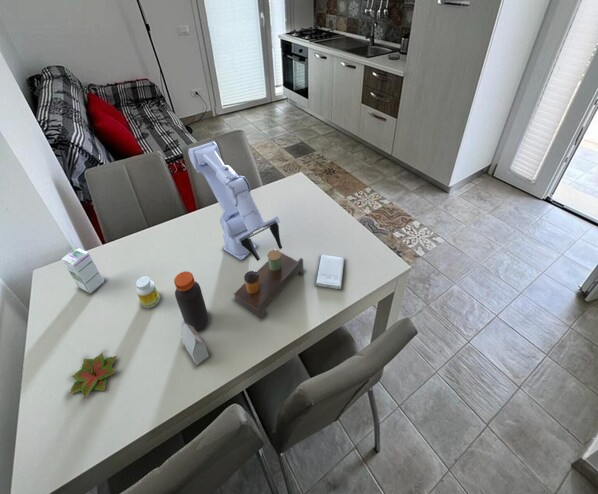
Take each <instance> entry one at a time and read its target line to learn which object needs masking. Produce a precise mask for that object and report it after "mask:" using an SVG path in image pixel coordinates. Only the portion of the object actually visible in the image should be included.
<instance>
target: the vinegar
mask: <svg viewBox="0 0 598 494" xmlns="http://www.w3.org/2000/svg"><path fill="white" fill-rule="evenodd" d="M173 280H174V281H173V282H174V285H175V291H174V296H175V297H174V298H175V299H176V303H177V305H178V308H179V311H180V312H181V316H182V319H183V323H185V322H186V323H187V324H188V325H191V326H193V327H194V329H195V330H196V332H197V333H198V332H199V331H200V332H201V331H202V330H204V329H205V328H206V327H207V325H208V324H209V319H210V318H209V317H210V316H209V314H208V309H207V305H206V303H205V299H204V295H203V292H202V288H201V286H200V284H199V282H197V281H196V280H195V277H194V275H193V273H192V272H191V271H182V272H180V273H178V274H176V276H175V277H174V279H173Z"/></svg>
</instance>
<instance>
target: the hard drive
mask: <svg viewBox="0 0 598 494" xmlns="http://www.w3.org/2000/svg"><path fill="white" fill-rule="evenodd" d="M344 265H345V257H340V256H334V255H327V254H321V256H320V261H319V266H318V270H317V271H318V272H317V277H316V283H315V286H318V287H322V288H329V289H335V290H341V289H342V281H343V273H344Z"/></svg>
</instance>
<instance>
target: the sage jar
mask: <svg viewBox="0 0 598 494" xmlns="http://www.w3.org/2000/svg"><path fill="white" fill-rule="evenodd" d="M281 253H282V252H281V251H280V250H278V249H271V250H269V251H268V252H267V261H268V264H269V269H270V270H272V271H278V270H279V269H280V268H281V266H282V264H281Z"/></svg>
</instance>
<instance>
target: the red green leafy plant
mask: <svg viewBox="0 0 598 494" xmlns="http://www.w3.org/2000/svg"><path fill="white" fill-rule="evenodd" d="M117 358H118V355H115V356H108V357H106V358H105V355H104V352H103V351H102V352H101V353H100V354H98V355H97V356H95V357H94V358H93V357H92V358H83V362H82V364H81V368H80V369H79V370H78V371H76V372H75V373H74V374H73V375H71V376H70V378H72V379H73V380H74V381H75V382H74V383H73V385H72V387H71V388H70V391H69V392H68V394H67V395H71V394H74V393H78V392H81V394H82V396H83V399H84V400H85V399H86V397H87V396H88V395H89V393H90V392H91V391H92V390H94V391H103V392H105V390H106V385H107V378H108V377H110V376H112V375H114V374H117V371H116V370H115V369H114V368H113V367H112V366H113V364H114V363H115V361H116V359H117Z"/></svg>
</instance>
